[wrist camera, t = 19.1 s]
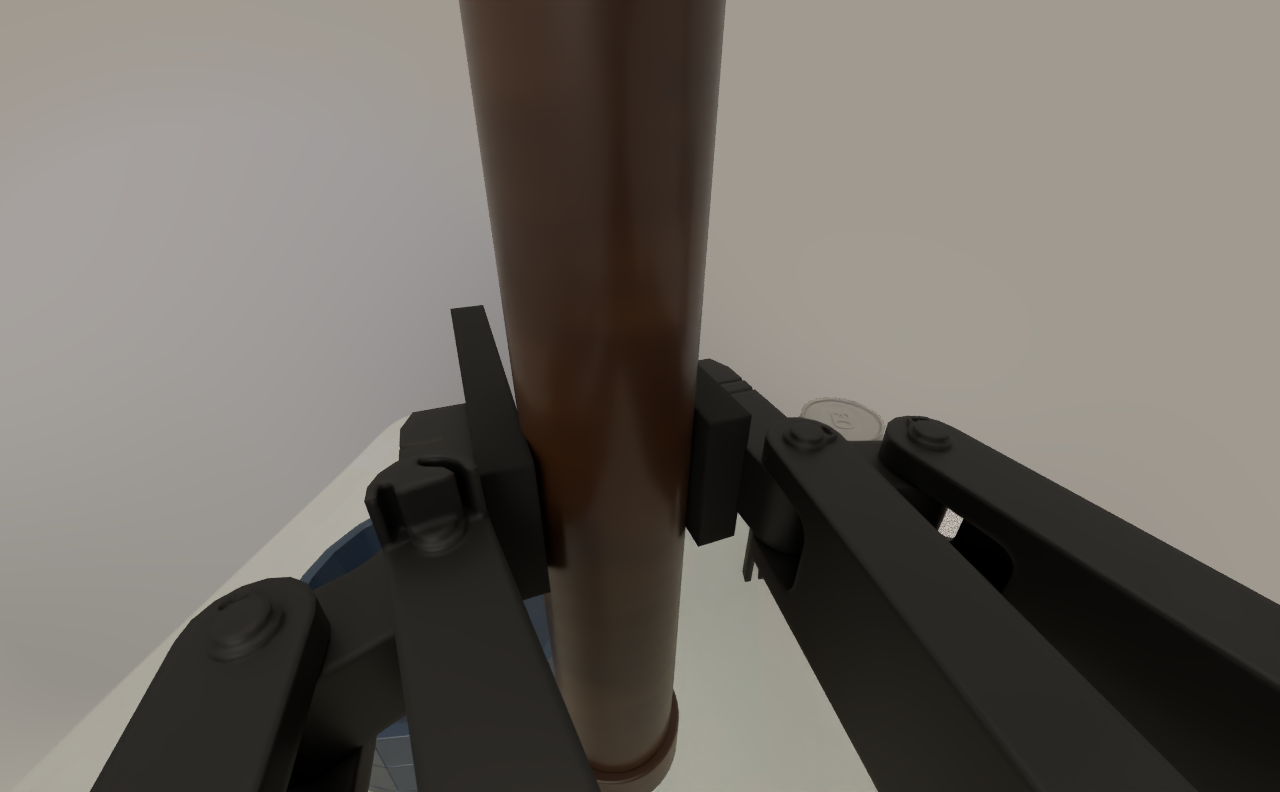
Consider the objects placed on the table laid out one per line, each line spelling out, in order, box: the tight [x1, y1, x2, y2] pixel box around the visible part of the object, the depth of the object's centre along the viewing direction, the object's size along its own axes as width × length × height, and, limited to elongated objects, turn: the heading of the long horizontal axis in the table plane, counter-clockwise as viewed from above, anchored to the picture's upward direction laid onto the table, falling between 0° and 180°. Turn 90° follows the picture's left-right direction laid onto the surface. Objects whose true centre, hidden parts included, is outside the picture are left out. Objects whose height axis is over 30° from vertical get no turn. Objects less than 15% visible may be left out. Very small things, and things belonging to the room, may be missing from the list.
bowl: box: [300, 518, 555, 792], centre depth 28 cm, size 15×15×6 cm
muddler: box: [459, 0, 726, 792], centre depth 9 cm, size 3×3×16 cm
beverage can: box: [799, 398, 885, 441], centre depth 32 cm, size 5×5×12 cm
